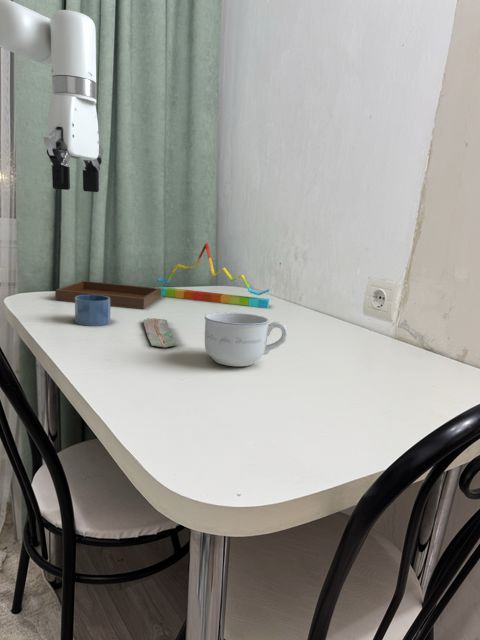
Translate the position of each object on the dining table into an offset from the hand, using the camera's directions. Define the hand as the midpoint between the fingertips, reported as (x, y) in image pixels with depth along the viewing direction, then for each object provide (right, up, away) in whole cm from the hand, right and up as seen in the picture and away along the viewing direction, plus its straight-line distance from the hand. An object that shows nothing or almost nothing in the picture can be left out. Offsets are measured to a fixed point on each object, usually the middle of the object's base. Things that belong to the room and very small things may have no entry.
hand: (76, 190), depth 96 cm
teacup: (+32, -33, -10) cm, 47 cm away
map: (+15, -27, +3) cm, 32 cm away
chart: (+22, -17, +40) cm, 49 cm away
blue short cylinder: (+1, -25, +8) cm, 26 cm away
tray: (-3, -18, +31) cm, 36 cm away
